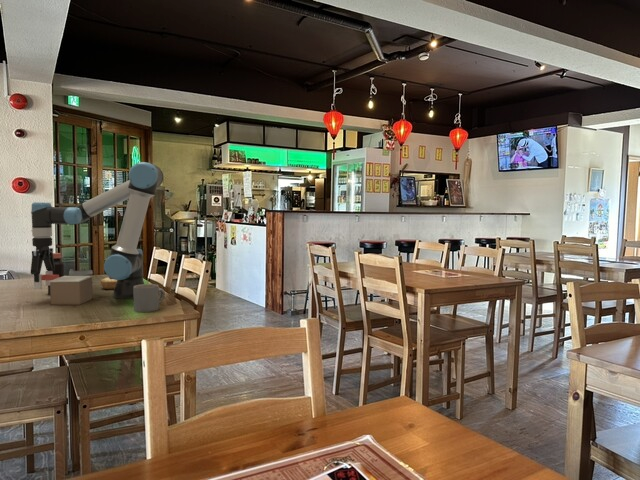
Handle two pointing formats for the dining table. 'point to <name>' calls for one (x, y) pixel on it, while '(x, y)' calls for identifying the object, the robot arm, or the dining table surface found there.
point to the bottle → (57, 267)
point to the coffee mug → (147, 297)
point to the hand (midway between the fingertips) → (43, 287)
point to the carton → (71, 292)
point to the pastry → (108, 283)
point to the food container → (81, 273)
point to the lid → (64, 278)
